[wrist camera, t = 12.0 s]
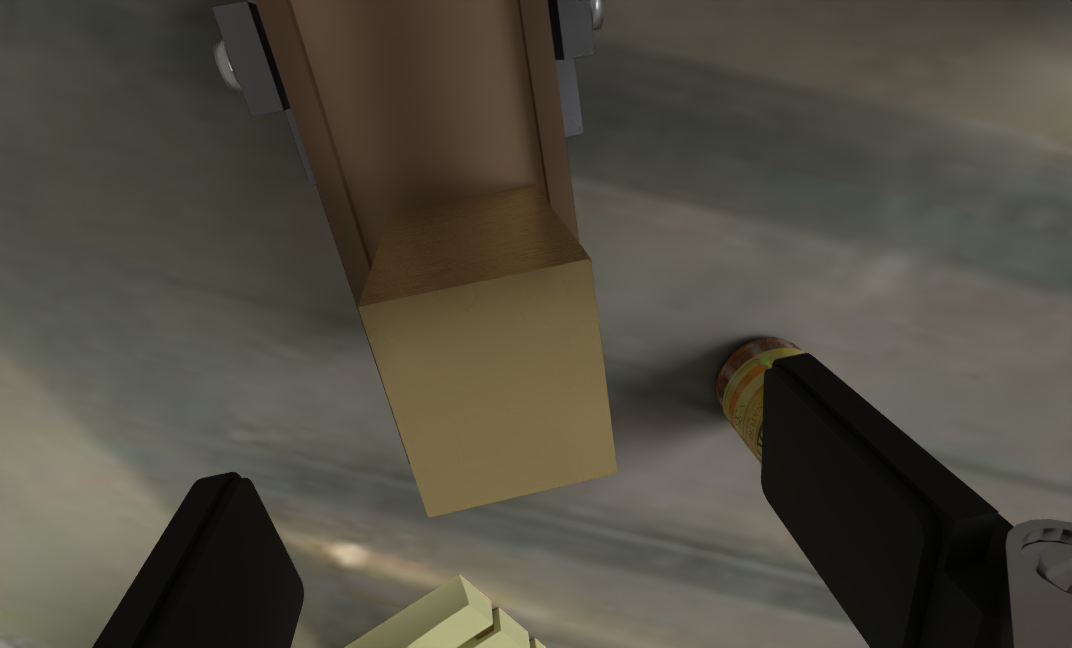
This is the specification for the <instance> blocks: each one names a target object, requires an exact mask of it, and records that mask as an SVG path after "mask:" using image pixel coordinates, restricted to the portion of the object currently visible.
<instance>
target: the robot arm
mask: <svg viewBox="0 0 1072 648" xmlns="http://www.w3.org/2000/svg"><path fill="white" fill-rule="evenodd" d="M761 484H762V489H763V492H764V495H765V497H766V499H767V501H768V502H769V504H770V505H771V507H772V508H773V510H774V511H775V512H776V514H777V515H778V517H779V518H780V520H781V521H782V522H783V524H784V525H785V527H786V528H787V530H788V531H789V532H790V534H791V535H792V537H793V538H794V540H795V541H796V542H797V544H798V545H799V547H800V548H801V550H802V551H803V552H804V554H805V555H806V557H807V558H808V560H809V561H810V562H811V564H812V565H813V567H814V568H815V570H816V571H817V572H818V574H819V575H820V577H821V578H822V580H823V581H824V582H825V584H826V585H827V587H828V588H829V590H830V591H831V592H832V594H833V595H834V597H835V598H836V600H837V601H838V602H839V604H840V605H841V607H842V608H843V610H844V611H845V612H846V614H847V615H848V617H849V618H850V620H851V621H852V622H853V624H854V625H855V627H856V628H857V630H858V631H859V632H860V634H861V635H862V637H863V638H864V640H865V641H866V642H867V644H868V645H869V647H870V648H1072V522H1065V521H1059V520H1052V519H1042V520H1029V521H1026V522H1023V523H1020V524H1017V525H1016V526H1015V527H1014V526H1012V525H1011V524H1010V523H1009V522H1008V521H1007V520H1005V519H1004V518H1003V517H1002V516H1001V515H999V514H998V511H997V510H996V509H995V508H993V507H992V506H991V505H990V504H989V503H987V502H986V501H985V500H984V499H983V498H982V497H980V496H979V495H978V494H977V493H976V492H974V491H973V490H972V489H971V488H970V487H968V486H967V485H966V484H965V483H964V482H962V481H961V480H960V479H959V478H958V477H956V476H955V475H954V474H953V473H952V472H951V471H949V470H948V469H947V468H946V467H945V466H943V465H942V464H941V463H940V462H939V461H937V460H936V459H935V458H934V457H933V456H931V455H930V454H929V453H928V452H927V451H925V450H924V449H923V448H922V447H921V446H920V445H918V444H917V443H916V442H915V441H914V440H912V439H911V438H910V437H909V436H908V435H906V434H905V433H904V432H903V431H902V430H900V429H899V428H898V427H897V426H896V425H894V424H893V423H892V422H891V421H890V420H889V419H887V418H886V417H885V416H884V415H883V414H881V413H880V412H879V411H878V410H877V409H875V408H874V407H873V406H872V405H871V404H869V403H868V402H867V401H866V400H865V399H864V398H862V397H861V396H860V395H859V394H858V393H856V392H855V391H854V390H853V389H852V388H850V387H849V386H848V385H847V384H846V383H844V382H843V381H842V380H841V379H840V378H838V377H837V376H836V375H835V374H834V373H833V372H831V371H830V370H829V369H828V368H827V367H825V366H824V365H823V364H822V363H821V362H819V361H818V360H817V359H816V358H815V357H813V356H812V355H810V354H809V353H802V354H797V355H793V356H788V357H783V358H778V359H776V360H774V361H773V363H772V368H769V369H767V370H765V372H764V385H763V425H762V465H761ZM303 600H304V589H303V584H302V581H301V579H300V577H299V575H298V573H297V571H296V569H295V567H294V565H293V563H292V561H291V559H290V557H289V555H288V553H287V551H286V549H285V547H284V545H283V543H282V541H281V539H280V537H279V535H278V533H277V531H276V529H275V527H274V525H273V523H272V521H271V519H270V517H269V515H268V513H267V511H266V509H265V507H264V505H263V503H262V501H261V499H260V497H259V495H258V493H257V491H256V489H255V487H254V485H253V483H252V482H251V480H250V479H248V478H241V476H240V475H239V474H237V473H236V472H229V473H225V474H220V475H215V476H210V477H205V478H201V479H199V480H197V481H196V482H195V483H194V484H193V486H192V487H191V489H190V491H189V492H188V494H187V495H186V497H185V499H184V500H183V502H182V504H181V505H180V507H179V508H178V510H177V512H176V513H175V515H174V516H173V518H172V520H171V521H170V523H169V525H168V526H167V528H166V529H165V531H164V533H163V534H162V536H161V537H160V539H159V541H158V542H157V544H156V546H155V547H154V549H153V550H152V552H151V554H150V555H149V557H148V558H147V560H146V562H145V563H144V565H143V567H142V568H141V570H140V571H139V573H138V575H137V576H136V578H135V579H134V581H133V583H132V584H131V586H130V588H129V589H128V591H127V592H126V594H125V596H124V597H123V599H122V600H121V602H120V604H119V605H118V607H117V609H116V610H115V612H114V613H113V615H112V617H111V618H110V620H109V621H108V623H107V625H106V626H105V628H104V630H103V631H102V633H101V634H100V636H99V638H98V639H97V641H96V642H95V644H94V646H93V647H92V648H290V647H291V644H292V640H293V637H294V633H295V629H296V626H297V622H298V619H299V615H300V612H301V608H302V605H303Z"/></svg>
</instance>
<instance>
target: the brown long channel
mask: <svg viewBox="0 0 1072 648" xmlns="http://www.w3.org/2000/svg"><path fill="white" fill-rule="evenodd" d="M255 2H256V5H257V8H258V11H259V14H260V17H261V20H262V23H263V26H264V29H265V32H266V35H267V38H268V41H269V44H270V47H271V50H272V53H273V56H274V59H275V62H276V65H277V68H278V71H279V74H280V77H281V80H282V83H283V86H284V89H285V92H286V95H287V98H288V101H289V104H290V107H291V110H292V113H293V116H294V119H295V123H296V126H297V129H298V132H299V135H300V138H301V141H302V144H303V147H304V150H305V153H306V156H307V159H308V162H309V165H310V168H311V171H312V174H313V177H314V180H315V183H316V186H317V189H318V192H319V195H320V198H321V201H322V204H323V207H324V210H325V213H326V216H327V219H328V222H329V225H330V228H331V231H332V234H333V237H334V240H335V243H336V246H337V249H338V252H339V255H340V258H341V261H342V264H343V267H344V270H345V273H346V276H347V279H348V282H349V285H350V288H351V291H352V294H353V297H354V300H355V303H356V306H357V309H358V305H359V302H360V299H361V296H362V293H363V290H364V287H365V284H366V281H367V278H368V275H369V272H370V270H371V267H372V264H373V261H374V258H375V255H376V252H377V249H378V246H379V243H380V240H381V237H382V234H383V231H384V228H385V225H386V222H387V219H388V216H389V214H390V213H393V212H398V211H403V210H408V209H413V208H418V207H423V206H428V205H433V204H438V203H443V202H448V201H453V200H458V199H463V198H469V197H474V196H479V195H484V194H489V193H494V192H499V191H504V190H509V189H514V188H519V187H524V186H529V185H534V184H535V185H536V186H537V187H538V189H539V190H540V191H541V193H542V194H543V195H544V197H545V198H546V200H547V201H548V202H549V204H550V205H551V206H552V208H553V209H554V210H555V212H556V213H557V214H558V216H559V217H560V218H561V220H562V221H563V222H564V224H565V225H566V226H567V228H568V229H569V230H570V232H571V233H572V234H573V236H574V237H575V238H576V240H577V241H578V242H579V238H578V230H577V222H576V215H575V207H574V199H573V192H572V184H571V176H570V169H569V161H568V153H567V146H566V138H565V130H564V123H563V115H562V107H561V100H560V92H559V84H558V77H557V69H556V62H555V54H554V46H553V39H552V31H551V23H550V16H549V8H548V0H255ZM358 312H359V310H358ZM359 315H360V313H359ZM360 318H361V316H360ZM361 321H362V319H361ZM362 324H363V321H362ZM363 327H364V324H363ZM364 330H365V327H364ZM365 333H366V330H365ZM366 336H367V333H366ZM367 339H368V336H367ZM368 342H369V339H368ZM369 345H370V342H369ZM370 348H371V345H370ZM371 351H372V348H371ZM372 354H373V351H372ZM373 357H374V354H373ZM374 360H375V357H374ZM375 363H376V360H375ZM376 366H377V363H376ZM377 369H378V366H377ZM378 372H379V369H378ZM379 375H380V372H379ZM380 378H381V375H380ZM381 381H382V378H381ZM382 384H383V381H382ZM383 387H384V384H383ZM384 390H385V387H384ZM385 393H386V390H385ZM386 396H387V393H386ZM387 399H388V396H387ZM388 402H389V399H388ZM389 405H390V402H389ZM390 408H391V405H390ZM391 411H392V408H391ZM392 414H393V411H392ZM393 417H394V414H393ZM394 420H395V417H394ZM395 423H396V420H395ZM396 426H397V423H396ZM397 429H398V426H397ZM398 432H399V429H398ZM399 435H400V432H399ZM400 438H401V435H400ZM401 441H402V438H401ZM402 444H403V441H402ZM403 447H404V444H403ZM404 450H405V447H404ZM405 453H406V450H405ZM406 456H407V453H406ZM407 459H408V456H407ZM408 462H409V459H408ZM409 464H410V462H409Z"/></svg>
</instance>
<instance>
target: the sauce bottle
mask: <svg viewBox="0 0 1072 648" xmlns="http://www.w3.org/2000/svg"><path fill="white" fill-rule="evenodd" d="M802 353H805V352H803V351H802V350H801V349H800V348H799V347H797V346H796V345H794V344H793V343H790V342H787V341H785V340H782V339H778V338H774V337H773V338H763V339H758V340H754V341H751V342H749V343H747V344H745V345H744V346H741V347H740V348H739V349H738V350H737V351H735V352H734V353H733V354H732V355H731V356H730V357H729V359H728V360H727V361H726V362H725V364H724V365H723V367H722V368H721V371H720V372H719V373H718V379H717V381H716V391H717V395H718V400H719V402H720V404H721V407H722V410H723V411H724V414H725V416H726V418H727V420H728V421H729V422H730V424H731V425H732V426H733V428H734V429H735V430H736V432H737V433H738V434H739V436H740V437H741V438H742V440H743V441H744V442H745V444H746V445H747V446H748V447H749V449H750V450H751V451H752V453H753V454H754V455H755V457H756V458H757V459H758V461H759V462H760V463H761V464H762V425H763V385H764V372H765V370H767V369H769V368H772V363H773V361H774V360H776V359H778V358H783V357H788V356H793V355H797V354H802Z"/></svg>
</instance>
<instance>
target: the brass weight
mask: <svg viewBox="0 0 1072 648" xmlns="http://www.w3.org/2000/svg"><path fill="white" fill-rule="evenodd" d="M358 310H359V313H360V316H361V319H362V321H363V324H364V327H365V330H366V333H367V336H368V339H369V342H370V345H371V348H372V351H373V354H374V357H375V360H376V363H377V366H378V369H379V372H380V375H381V378H382V381H383V384H384V387H385V390H386V393H387V396H388V399H389V402H390V405H391V408H392V411H393V414H394V417H395V420H396V423H397V426H398V429H399V432H400V435H401V438H402V441H403V444H404V447H405V450H406V453H407V456H408V459H409V462H410V465H411V467H412V470H413V473H414V476H415V479H416V482H417V485H418V488H419V491H420V494H421V497H422V500H423V503H424V506H425V509H426V512H427V515H428V518H430V517H434V516H438V515H442V514H447V513H451V512H455V511H460V510H464V509H468V508H472V507H477V506H481V505H485V504H489V503H494V502H498V501H502V500H506V499H511V498H515V497H519V496H523V495H528V494H532V493H536V492H540V491H545V490H549V489H553V488H557V487H562V486H566V485H570V484H574V483H579V482H583V481H587V480H591V479H596V478H600V477H604V476H608V475H613V474H617V473H618V472H617V464H616V456H615V448H614V440H613V432H612V424H611V416H610V408H609V400H608V392H607V384H606V376H605V368H604V360H603V352H602V344H601V336H600V328H599V320H598V312H597V304H596V296H595V288H594V280H593V272H592V264H591V258H590V257H589V256H588V254H587V253H586V252H585V250H584V249H583V248H582V246H581V245H580V244H579V242H578V241H577V240H576V238H575V237H574V236H573V234H572V233H571V232H570V230H569V229H568V228H567V226H566V225H565V224H564V222H563V221H562V220H561V218H560V217H559V216H558V214H557V213H556V212H555V210H554V209H553V208H552V206H551V205H550V204H549V202H548V201H547V200H546V198H545V197H544V195H543V194H542V193H541V191H540V190H539V189H538V187H537V186H536V185H535V184H534V185H529V186H524V187H519V188H514V189H509V190H504V191H499V192H494V193H489V194H484V195H479V196H474V197H469V198H463V199H458V200H453V201H448V202H443V203H438V204H433V205H428V206H423V207H418V208H413V209H408V210H403V211H398V212H393V213H390V214H389V216H388V219H387V222H386V225H385V228H384V231H383V234H382V237H381V240H380V243H379V246H378V249H377V252H376V255H375V258H374V261H373V264H372V267H371V270H370V272H369V275H368V278H367V281H366V284H365V287H364V290H363V293H362V296H361V299H360V302H359V305H358Z"/></svg>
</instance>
